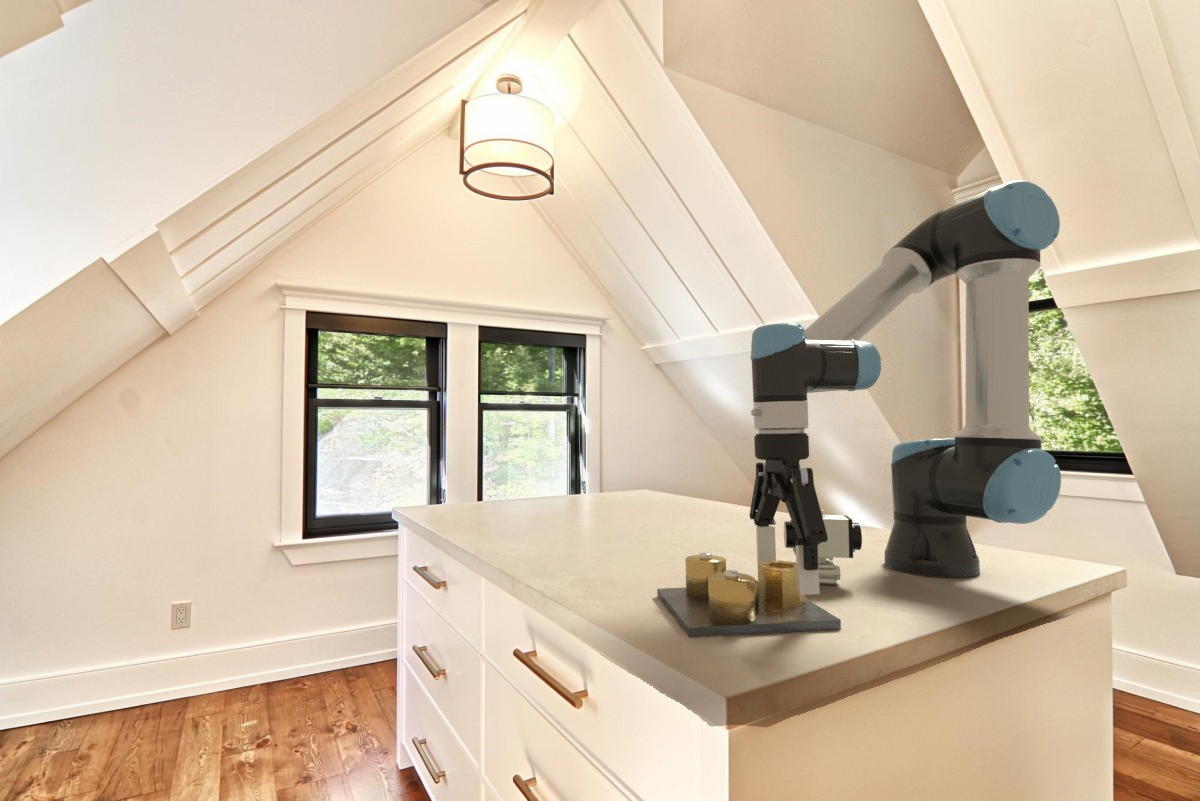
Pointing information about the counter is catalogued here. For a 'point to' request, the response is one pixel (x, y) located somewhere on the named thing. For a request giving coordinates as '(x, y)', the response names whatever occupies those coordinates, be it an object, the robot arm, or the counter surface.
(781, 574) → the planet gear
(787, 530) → the pneumatic valve
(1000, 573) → the counter surface
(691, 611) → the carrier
